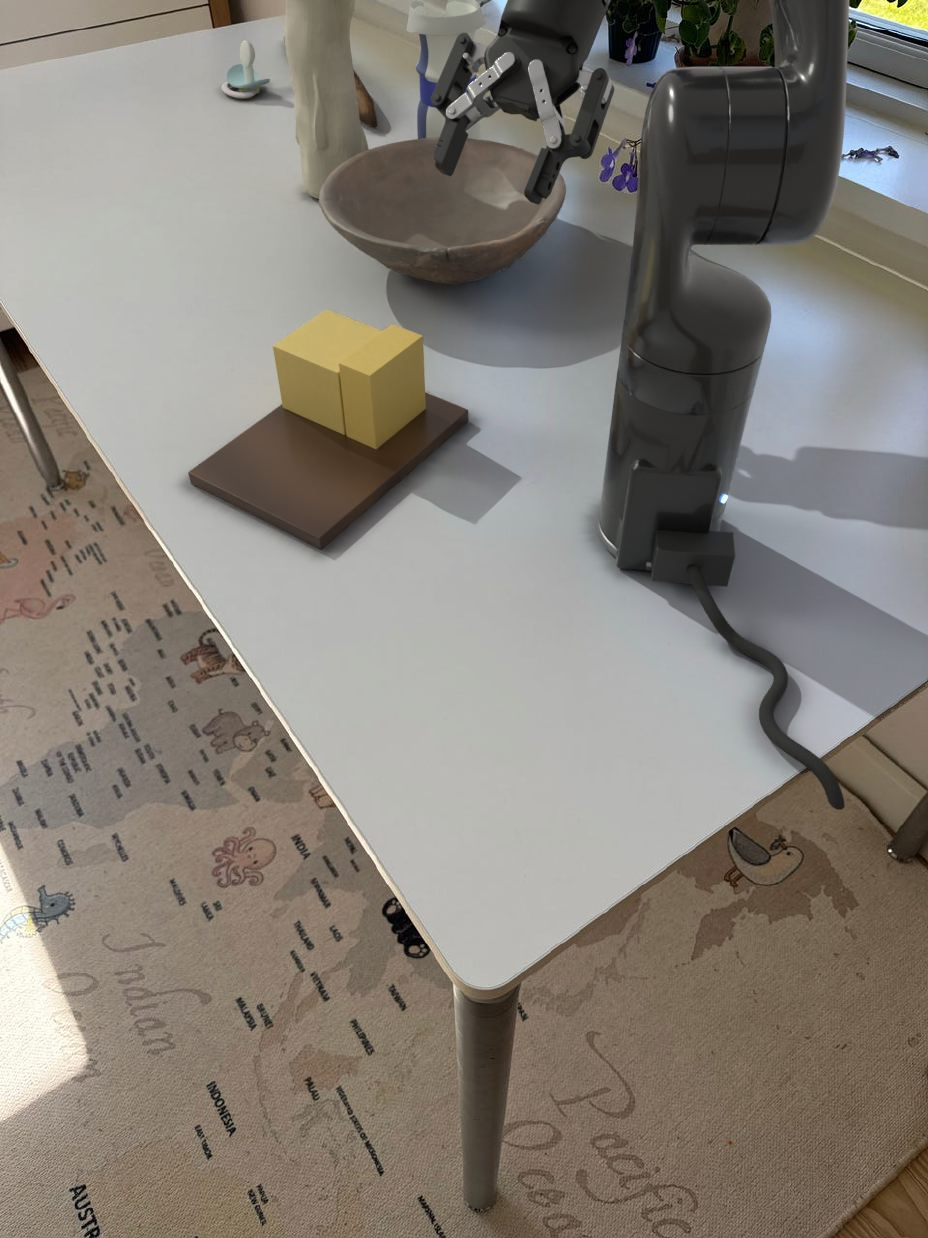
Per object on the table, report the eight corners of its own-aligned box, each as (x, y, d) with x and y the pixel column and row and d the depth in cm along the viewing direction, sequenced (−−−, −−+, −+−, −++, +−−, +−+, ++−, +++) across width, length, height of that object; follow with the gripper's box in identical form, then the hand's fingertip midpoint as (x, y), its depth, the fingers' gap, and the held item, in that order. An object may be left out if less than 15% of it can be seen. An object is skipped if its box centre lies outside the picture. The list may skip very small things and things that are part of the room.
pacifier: (237, 105, 137) (276, 94, 139) (228, 56, 132) (268, 45, 135) (214, 89, 141) (252, 78, 143) (204, 40, 136) (243, 30, 139)
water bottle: (401, 180, 121) (389, -65, 102) (466, 168, 123) (466, -74, 105) (426, 209, 116) (418, -44, 97) (494, 195, 118) (499, -54, 100)
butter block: (333, 370, 91) (326, 308, 87) (394, 395, 89) (391, 333, 84) (282, 407, 88) (272, 345, 83) (344, 435, 85) (337, 372, 80)
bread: (270, 44, 153) (265, 7, 149) (301, 39, 154) (297, 3, 151) (358, 137, 129) (355, 96, 126) (394, 130, 131) (392, 89, 127)
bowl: (496, 193, 118) (498, 118, 112) (605, 292, 103) (614, 210, 97) (295, 237, 111) (284, 158, 105) (379, 350, 96) (373, 266, 90)
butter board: (345, 369, 94) (344, 358, 93) (468, 420, 88) (468, 409, 87) (190, 483, 82) (187, 472, 82) (321, 550, 77) (319, 538, 76)
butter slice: (396, 396, 89) (392, 323, 83) (426, 408, 87) (423, 335, 82) (346, 436, 85) (338, 362, 79) (376, 449, 84) (370, 375, 78)
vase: (351, 168, 123) (326, -132, 101) (385, 194, 118) (367, -115, 96) (288, 185, 120) (247, -121, 98) (320, 213, 115) (286, -103, 93)
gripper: (471, -63, 78) (394, 144, 81) (635, -28, 73) (547, 191, 76) (505, -8, 85) (433, 180, 88) (657, 27, 80) (576, 226, 83)
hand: (486, 185), depth 82 cm, fingers open, 8 cm apart
